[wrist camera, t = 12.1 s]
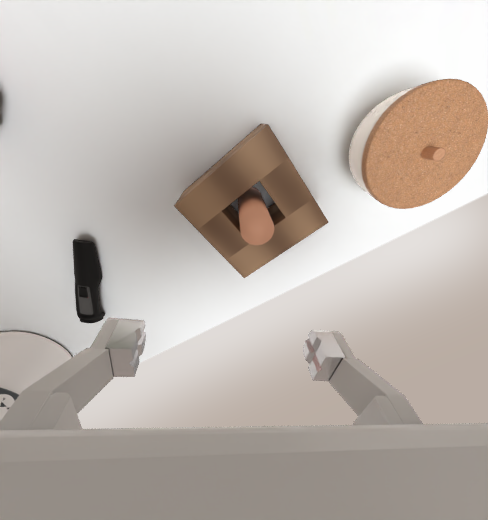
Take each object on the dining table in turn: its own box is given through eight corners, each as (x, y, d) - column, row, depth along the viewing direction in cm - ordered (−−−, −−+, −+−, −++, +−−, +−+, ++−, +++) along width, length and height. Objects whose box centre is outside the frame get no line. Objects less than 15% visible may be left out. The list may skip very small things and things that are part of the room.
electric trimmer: (104, 235, 33) (92, 245, 30) (106, 316, 40) (97, 330, 37) (74, 230, 32) (60, 239, 29) (83, 313, 39) (72, 327, 36)
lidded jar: (316, 146, 28) (351, 157, 20) (399, 63, 24) (485, 33, 16) (363, 206, 32) (408, 235, 24) (440, 143, 28) (524, 152, 20)
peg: (246, 215, 31) (251, 250, 23) (232, 196, 30) (233, 225, 21) (266, 202, 31) (280, 234, 22) (253, 181, 29) (263, 207, 21)
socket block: (242, 254, 35) (244, 278, 29) (184, 191, 29) (174, 205, 24) (312, 205, 31) (328, 222, 26) (260, 123, 26) (268, 124, 21)
